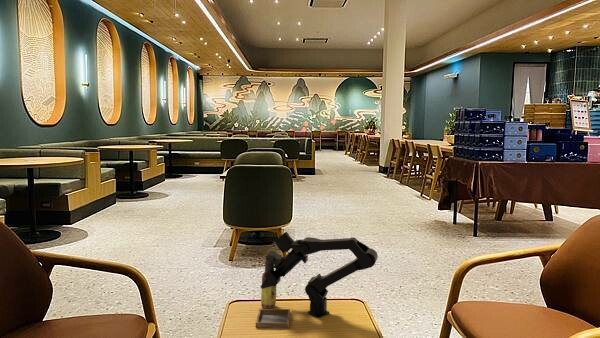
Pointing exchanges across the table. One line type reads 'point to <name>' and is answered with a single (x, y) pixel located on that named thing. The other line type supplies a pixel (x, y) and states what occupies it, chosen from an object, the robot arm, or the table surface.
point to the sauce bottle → (268, 290)
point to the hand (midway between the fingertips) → (265, 283)
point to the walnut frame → (273, 318)
